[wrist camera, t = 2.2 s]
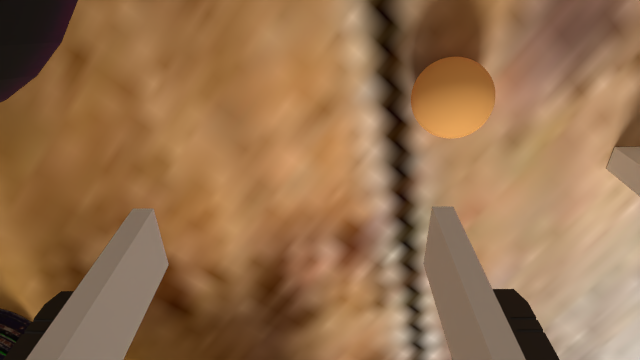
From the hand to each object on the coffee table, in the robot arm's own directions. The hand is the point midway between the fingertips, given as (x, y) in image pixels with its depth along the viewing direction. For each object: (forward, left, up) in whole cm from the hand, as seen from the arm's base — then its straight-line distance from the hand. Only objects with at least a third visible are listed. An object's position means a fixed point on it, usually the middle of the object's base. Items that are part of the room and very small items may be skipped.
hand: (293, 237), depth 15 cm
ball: (+10, 0, -15) cm, 18 cm away
